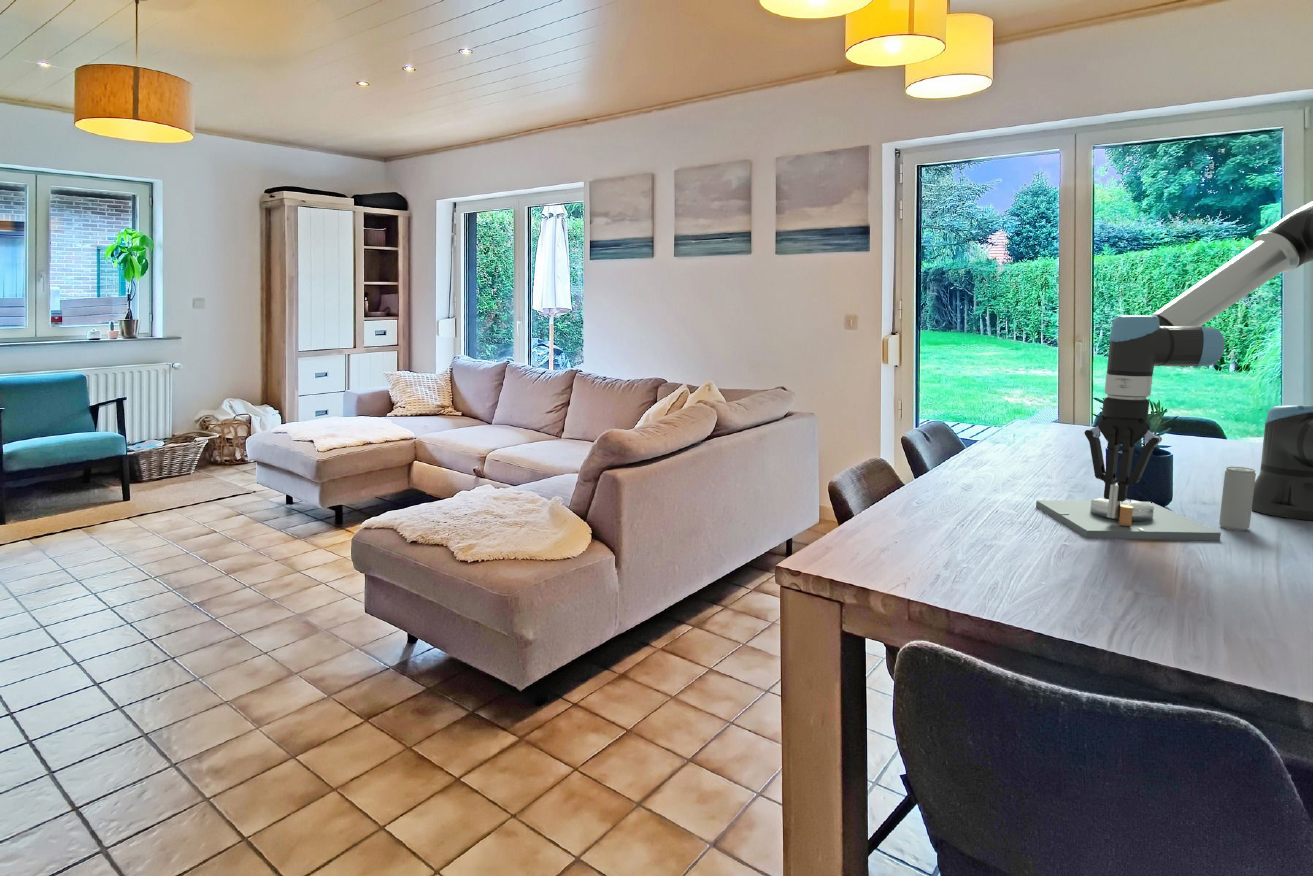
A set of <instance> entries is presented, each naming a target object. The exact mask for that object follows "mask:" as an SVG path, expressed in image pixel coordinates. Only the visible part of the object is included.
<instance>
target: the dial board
mask: <svg viewBox="0 0 1313 876" xmlns="http://www.w3.org/2000/svg"><path fill="white" fill-rule="evenodd" d="M1035 502H1036V503H1035V507H1036V508H1037V509H1038V510H1041V511H1042V512H1043V513H1045V514H1047V515H1048V516H1050V517H1052V518H1054V519H1055V520H1056V521H1058V522H1060V523H1061V524H1063V525H1065V526H1066V527H1068V528H1069V529H1071V530H1073V531H1074V532H1075V533H1077V534H1079V535H1080V536H1083V537H1084V538H1085V539H1108V540H1109V539H1110V540H1111V539H1113V540H1115V539H1117V540H1119V539H1121V540H1125V539H1126V540H1164V541H1165V540H1171V541H1172V540H1173V541H1178V540H1180V541H1221V534H1222V533H1221V532H1220V531H1217V530H1216V529H1213V528H1211V527H1208V526H1207V525H1204V524H1202V523H1199V522H1197V521H1195V520H1193V519H1191V518H1189V517H1186V516H1184V515H1181V514H1179V513H1177V512H1175V511H1172V510H1170V509H1169V508H1166V507H1163V506H1161V505H1159V504H1156V503H1154V502H1152V501H1143V502H1144V503H1147V504H1150V505H1152V506H1153V507H1154V514H1153V518H1152V519H1151V520H1146V521H1132V523H1131V526H1122V525H1119V523H1118V520H1117V519H1111V518H1106V517H1102V516H1098V515H1096V514H1093V513H1092V512H1091V511H1090V508H1091V500H1053V499H1052V500H1051V499H1050V500H1049V499H1047V500H1045V499H1044V500H1043V499H1042V500H1040V499H1038V500H1037V499H1036V501H1035ZM1151 502H1152V503H1151Z"/></svg>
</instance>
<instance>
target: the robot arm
mask: <svg viewBox="0 0 1313 876" xmlns="http://www.w3.org/2000/svg"><path fill="white" fill-rule="evenodd" d="M1311 261H1313V201H1310V202H1309V203H1307V204H1305V205H1303V206H1301V207H1300V208H1297V209H1295V210H1294V211H1292V212H1291V213H1289V214H1287V215H1286V216H1284V217H1282V218H1281V219H1280V220H1277V221H1276V222H1275V223H1273V224H1272V225H1270V226H1269V227H1267V228H1266V229H1265V230H1263V231H1261V233H1259V234H1258V235H1256V236H1255V237H1254V239H1253V241H1252V245H1250V246H1249V247H1247V248H1246V249H1245V250H1243V251H1242V252H1240V253H1239V254H1237V255H1236V256H1234V257H1233V258H1232V259H1230V260H1229V261H1227V262H1226V263H1225V264H1223V265H1222V266H1220V267H1218V268H1216V270H1215V271H1212V273H1209V275H1207V276H1206V277H1204V278H1203V279H1201V280H1199V281H1198V282H1197V283H1195V284H1194V285H1193V286H1191V287H1190V288H1188V289H1187V290H1186V291H1184V292H1182V293H1181V294H1180V295H1178V296H1177V297H1174V299H1172V300H1170V302H1168V303H1166V304H1165V305H1163V306H1162V307H1160V308H1159V309H1158V310H1156V311H1155V312H1153V313H1152V314H1151V315H1118V316H1116V317H1115V318H1114V319H1113V322H1112V326H1111V330H1110V336H1109V338H1108V339H1109V346H1108V348H1109V349H1108V356H1107V366H1106V369H1107V370H1106V375H1105V386H1104V394H1105V395H1107V396H1105V397H1104V398H1103V401H1102V411H1101V418H1100V420H1099V421H1098V423H1097V426H1095V427H1092V428H1089V429H1086V430H1085V431H1084V435H1085V437H1086V439H1087V441H1088V442H1089V448H1090V449H1089V450H1090V455H1091V461H1092V467H1093V471H1094V472H1093V473H1094V477H1095V479H1097V480H1100V481H1103V482H1104V489H1103V490H1104V492H1103V498H1104V499H1109V503H1108V512H1107V517H1110V518H1115V517H1117V516H1119V506H1120V501H1121V502H1123V501H1125V500H1126V499H1128V498H1127V496H1128V490H1129V485H1135V484H1138V483H1139V482H1141V479H1142V477H1143V474H1144V472H1145V469H1146V468H1147V466H1148V463H1149V461H1150V459H1151V456H1152V454H1153V452H1154V449H1155V448H1156V447H1157V446H1158V445H1159V444H1160V443H1161V442H1162V440H1163V439H1162V437H1161V436H1160V435H1155V434H1154V433H1153V432H1151V431H1150V426H1149V424H1148V418H1149V409H1150V400H1149V399H1148V397H1150V396H1151V395H1152V394H1151V393H1152V385H1153V375H1154V369H1155V367H1161V366H1162V367H1192V368H1193V367H1194V368H1198V367H1209V366H1213V365H1214V364H1217V362H1219V361H1220V360H1221V358H1222V356H1223V354H1224V352H1225V336H1224V334H1222V332H1221V331H1220V330H1219V329H1218V328H1216V327H1213V326H1203V325H1205V324H1206V323H1208V322H1209V321H1211V320H1212V319H1214V318H1215V317H1217V316H1218V315H1219V314H1221V313H1222V312H1225V310H1227V309H1228V308H1231V306H1233V305H1235V304H1236V303H1237V302H1239V301H1241V300H1242V299H1244V298H1245V297H1246V296H1248V295H1249V294H1251V293H1252V292H1254V291H1255V290H1257V289H1258V288H1260V287H1262V286H1263V285H1264V284H1267V282H1269V281H1270V280H1272V279H1273V278H1274V277H1276V276H1278V275H1279V274H1280V273H1290V272H1293V271H1295V269H1296V270H1297V268H1299V267H1300V266H1302V265H1304V264H1306V263H1309V262H1311ZM1101 435H1103V437H1104V439H1105V441H1106V442H1107V446H1106V447H1107V455H1106V465H1105V461H1104V457H1103V449H1102V445H1101V443H1102V442H1101V438H1100V437H1101ZM1143 438H1144V444H1145V445H1144V446H1143V448H1142V450H1141V452H1140V455H1139V457H1138V459H1137V461H1136V463H1135V467H1134V469H1133V471H1132V464H1133V455H1134V450H1135V447H1136V444H1137V443H1138V442H1140V441H1141V440H1142V439H1143ZM1120 447H1121V460H1120V466H1119V467H1120V468H1119V475H1118V479H1117V478H1116V477H1117V469H1118V460H1119V459H1118V458H1119V451H1120V450H1119V449H1120ZM1131 471H1132V472H1131ZM1117 480H1118V481H1117ZM1115 481H1117V482H1115ZM1251 511H1255V512H1257V513H1261V514H1264V515H1270V516H1276V517H1281V518H1287V519H1288V518H1289V519H1296V520H1308V521H1309V520H1310V521H1311V520H1313V404H1312V405H1311V404H1309V405H1307V404H1306V405H1274V406H1272V407H1271V408H1269V410H1268V411H1267V416H1266V420H1265V423H1264V432H1263V443H1262V453H1261V462H1260V470H1259V473H1258V476H1257V478H1255V485H1254V494H1253V502H1252V510H1251Z"/></svg>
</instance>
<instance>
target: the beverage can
mask: <svg viewBox="0 0 1313 876" xmlns="http://www.w3.org/2000/svg"><path fill="white" fill-rule="evenodd" d="M1225 468H1226V469H1225V471H1224V476H1223V477H1224V478H1223V486H1222V495H1221V504H1220V505H1221V506H1220V513H1219V522H1218V524H1219V526H1220V527H1221V528H1223V529H1225V530H1228V531H1229V530H1230V531H1236V532H1237V531H1240V532H1241V531H1242V532H1243V531H1244V530H1245V531H1247V530H1248V529H1250V525H1251V519H1252V511H1253V510H1252V502H1253V494H1254V485H1255V481H1256V475H1257V474H1256V469H1254V468H1249V467H1244V466H1226V467H1225Z"/></svg>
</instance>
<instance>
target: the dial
mask: <svg viewBox="0 0 1313 876" xmlns="http://www.w3.org/2000/svg"><path fill="white" fill-rule="evenodd" d="M1090 501H1091V508H1090V511H1091V512H1092V513H1093V514H1096V515H1098V516H1102V517H1106V518H1110V517H1107V512H1108V503H1109V499H1104V497H1099V498H1094V499H1093V498H1092V500H1090ZM1144 502H1145V501H1139V500H1135V499H1130V498H1126V500H1125V501H1123V502H1121V501H1120V506H1119V516H1117V517H1115V518H1111V519H1117V520H1118V523H1119V525H1122V526H1131V523H1132V521H1146V520H1151V519H1152V518H1153V514H1154V507H1153V506H1152V505H1150V504H1147V503H1144Z"/></svg>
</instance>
